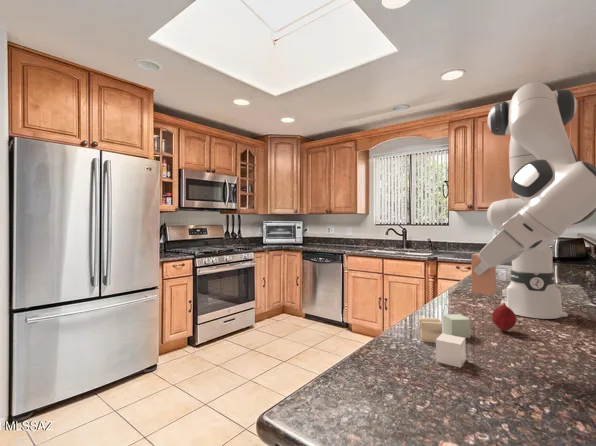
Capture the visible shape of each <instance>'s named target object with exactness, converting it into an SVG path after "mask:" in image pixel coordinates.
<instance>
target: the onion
mask: <svg viewBox="0 0 596 446" xmlns="http://www.w3.org/2000/svg"><path fill="white" fill-rule="evenodd" d="M500 305H501V306H498V307H496V308H495V309H493V312H492V313H491V320H492V322H493V324H494V325H495V326H496V327H497V328H498V329H500V331H502V332H507V331H508V330H510V329H512V328H513V327H515V325H516V324H517V316H516V314H514V312H513V311H512V310H511V309H510V308H508V307H507V306H506V304H505V303H501V302H500Z"/></svg>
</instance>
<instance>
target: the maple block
mask: <svg viewBox="0 0 596 446" xmlns="http://www.w3.org/2000/svg"><path fill="white" fill-rule="evenodd" d="M441 334H443V322H442V321H441V320H440V318H439V317H422V316H420V317H418V335H419V338H420V341H421V342H423V343H435V344H436V339H437V338H438V337H439V336H440V335H441Z"/></svg>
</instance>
